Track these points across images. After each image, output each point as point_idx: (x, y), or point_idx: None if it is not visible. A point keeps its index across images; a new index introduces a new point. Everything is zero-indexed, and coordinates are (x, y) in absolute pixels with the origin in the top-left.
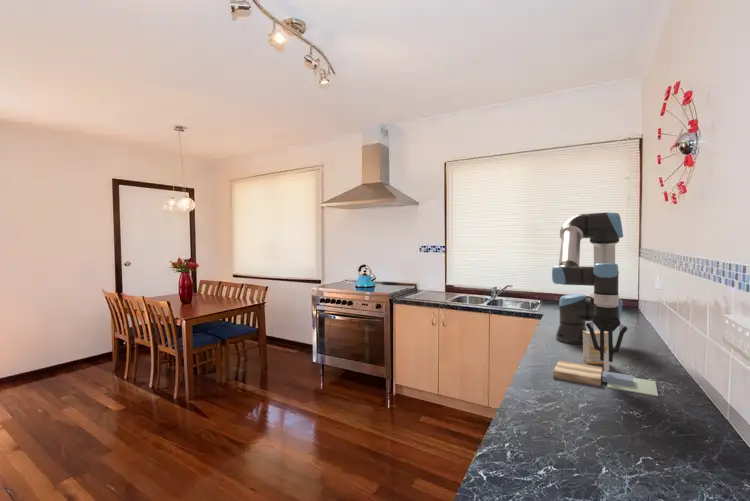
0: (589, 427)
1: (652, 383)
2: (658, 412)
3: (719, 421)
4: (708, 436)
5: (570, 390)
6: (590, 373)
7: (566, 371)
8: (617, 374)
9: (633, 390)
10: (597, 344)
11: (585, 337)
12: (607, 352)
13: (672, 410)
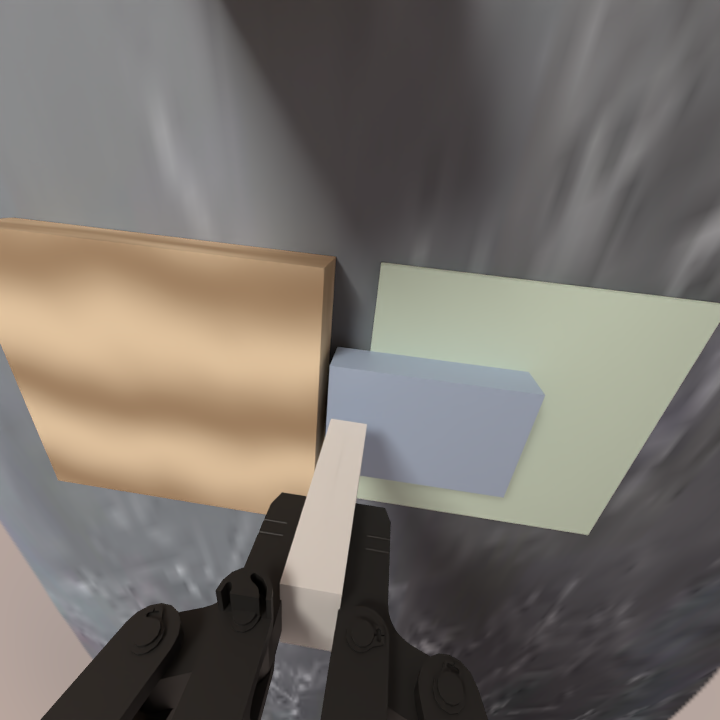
0: (299, 709)
1: (666, 369)
2: (507, 638)
3: (708, 655)
4: (587, 712)
5: (209, 557)
6: (251, 454)
7: (119, 465)
8: (428, 407)
9: (478, 510)
10: (133, 707)
11: None
12: (321, 622)
13: (572, 620)
